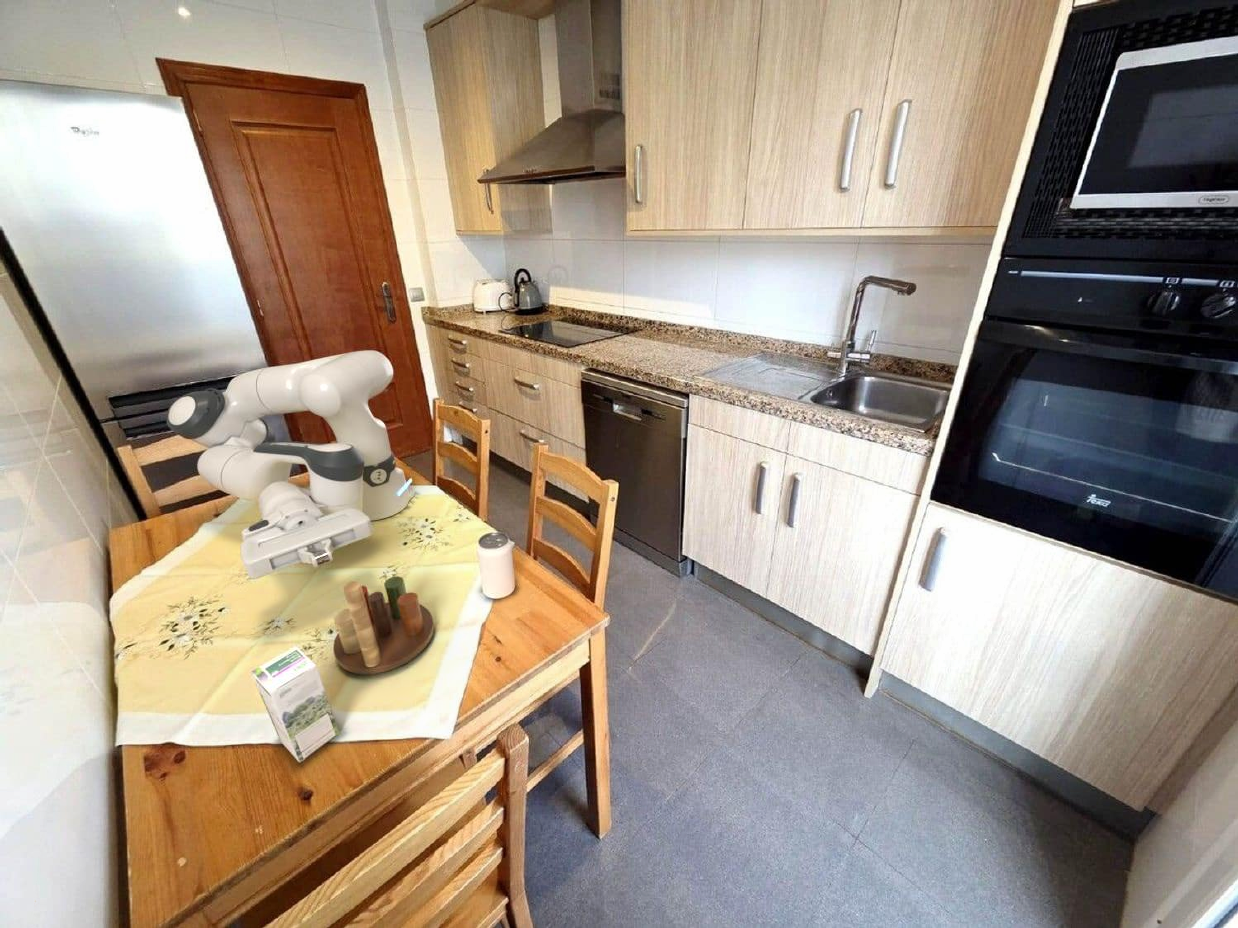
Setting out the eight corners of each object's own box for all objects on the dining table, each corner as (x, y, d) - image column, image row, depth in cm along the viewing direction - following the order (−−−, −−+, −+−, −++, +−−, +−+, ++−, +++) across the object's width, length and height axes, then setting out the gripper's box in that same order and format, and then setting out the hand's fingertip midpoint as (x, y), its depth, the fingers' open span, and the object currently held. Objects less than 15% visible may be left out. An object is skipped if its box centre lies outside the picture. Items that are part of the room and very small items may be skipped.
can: (507, 602, 98) (502, 552, 93) (477, 597, 99) (470, 547, 94) (520, 581, 104) (515, 532, 99) (491, 576, 105) (485, 528, 100)
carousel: (319, 678, 80) (290, 596, 73) (353, 609, 94) (332, 534, 87) (423, 669, 82) (405, 588, 75) (441, 602, 96) (427, 528, 89)
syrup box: (320, 713, 76) (294, 642, 70) (341, 734, 73) (316, 662, 66) (280, 742, 72) (248, 669, 65) (300, 765, 69) (269, 692, 62)
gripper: (361, 521, 102) (388, 550, 93) (241, 563, 89) (259, 602, 80) (354, 494, 99) (381, 522, 90) (229, 534, 86) (247, 571, 77)
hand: (323, 560), depth 85 cm, fingers closed
